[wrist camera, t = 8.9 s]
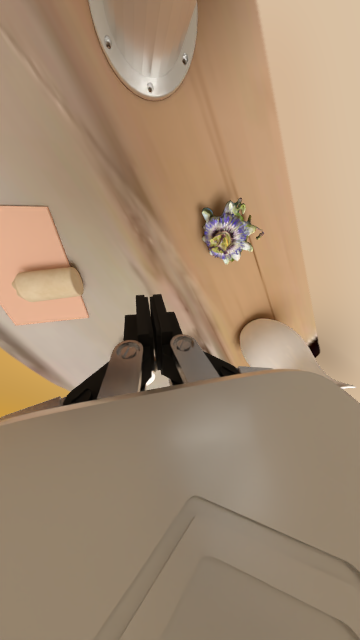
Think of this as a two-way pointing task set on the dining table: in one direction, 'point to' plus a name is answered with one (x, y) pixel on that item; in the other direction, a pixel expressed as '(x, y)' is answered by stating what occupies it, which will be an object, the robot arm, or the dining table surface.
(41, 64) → the dining table surface
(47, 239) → the mat
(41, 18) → the dining table surface
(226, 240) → the passion flower
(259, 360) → the pitcher
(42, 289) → the candle
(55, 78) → the dining table surface
